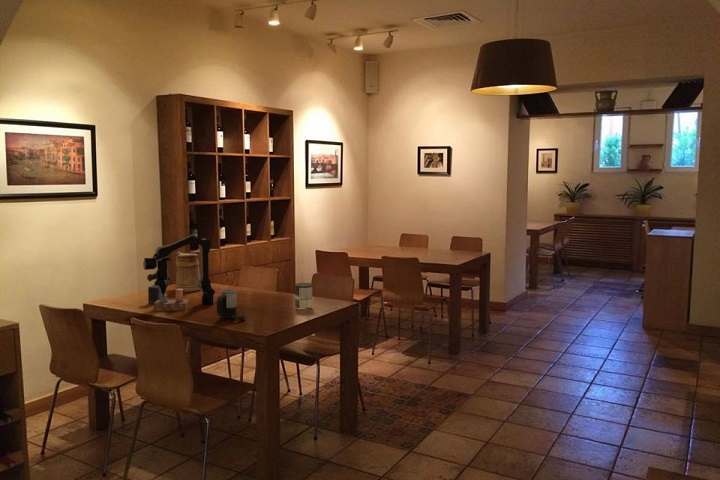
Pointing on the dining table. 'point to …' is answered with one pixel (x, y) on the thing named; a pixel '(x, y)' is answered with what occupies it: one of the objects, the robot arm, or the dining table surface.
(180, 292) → the brick plug
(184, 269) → the tankard
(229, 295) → the milk frother
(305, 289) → the coffee can
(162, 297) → the grey plug
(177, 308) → the socket block
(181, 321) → the dining table surface
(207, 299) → the robot arm
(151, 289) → the small box
